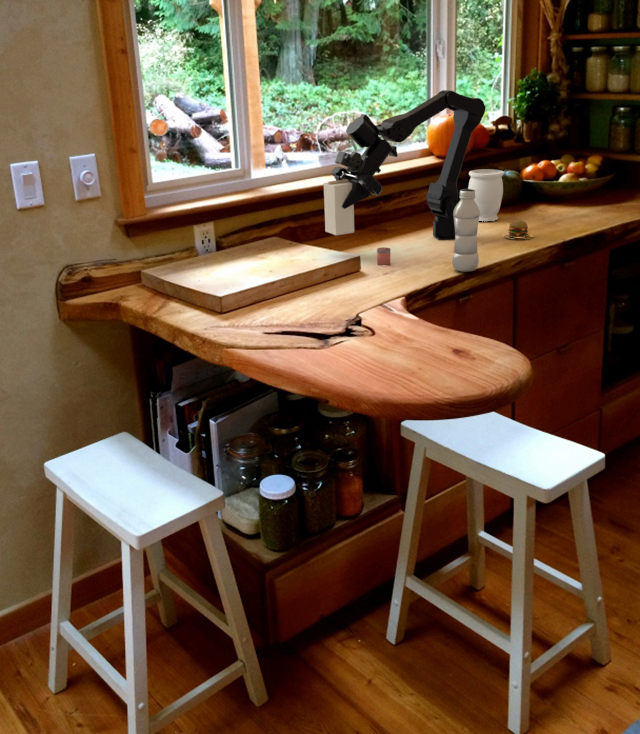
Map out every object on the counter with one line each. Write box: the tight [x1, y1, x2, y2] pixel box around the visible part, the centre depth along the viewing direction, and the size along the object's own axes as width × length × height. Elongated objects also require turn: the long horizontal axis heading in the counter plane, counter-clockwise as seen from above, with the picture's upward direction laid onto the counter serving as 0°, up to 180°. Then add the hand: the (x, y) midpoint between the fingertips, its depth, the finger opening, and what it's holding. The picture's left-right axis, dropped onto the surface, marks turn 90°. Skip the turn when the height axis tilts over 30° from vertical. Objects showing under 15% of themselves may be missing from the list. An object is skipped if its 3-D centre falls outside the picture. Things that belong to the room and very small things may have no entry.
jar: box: [467, 168, 505, 223], centre depth 255 cm, size 11×10×15 cm
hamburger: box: [507, 219, 529, 237], centre depth 234 cm, size 12×12×6 cm
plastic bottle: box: [451, 188, 480, 273], centre depth 200 cm, size 6×7×20 cm
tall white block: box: [323, 179, 355, 236], centre depth 218 cm, size 6×6×14 cm
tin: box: [376, 247, 391, 266], centre depth 212 cm, size 4×4×4 cm
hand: (337, 205), depth 218 cm, fingers closed on tall white block, 6 cm apart
